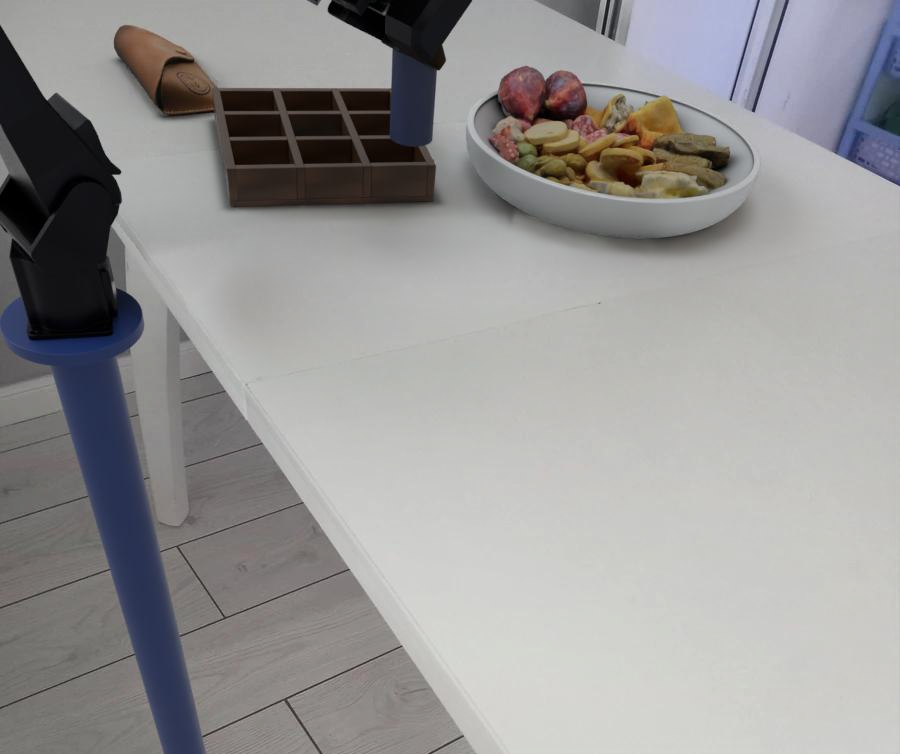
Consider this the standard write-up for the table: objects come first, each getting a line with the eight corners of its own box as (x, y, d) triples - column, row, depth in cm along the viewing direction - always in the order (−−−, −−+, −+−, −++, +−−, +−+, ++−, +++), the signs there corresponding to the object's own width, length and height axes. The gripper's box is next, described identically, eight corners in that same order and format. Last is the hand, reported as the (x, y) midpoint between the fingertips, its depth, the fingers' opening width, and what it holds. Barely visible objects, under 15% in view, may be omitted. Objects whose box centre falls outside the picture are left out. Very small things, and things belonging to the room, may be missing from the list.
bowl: (792, 192, 97) (820, 115, 91) (652, 287, 80) (676, 200, 74) (566, 106, 108) (579, 33, 102) (403, 174, 91) (407, 91, 85)
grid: (230, 206, 84) (226, 168, 81) (215, 122, 96) (211, 87, 93) (433, 201, 88) (436, 164, 85) (393, 121, 100) (395, 88, 98)
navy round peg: (414, 150, 81) (423, -18, 71) (380, 137, 83) (385, -30, 73) (440, 138, 83) (453, -26, 74) (407, 125, 85) (415, -37, 75)
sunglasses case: (234, 104, 98) (197, 48, 93) (184, 144, 99) (144, 91, 93) (184, 49, 108) (148, -4, 103) (140, 86, 109) (101, 35, 103)
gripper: (465, -166, 59) (556, 7, 73) (313, -216, 68) (418, -54, 82) (366, -16, 61) (472, 126, 75) (231, -83, 70) (347, 54, 84)
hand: (427, 57), depth 79 cm, fingers closed on navy round peg, 4 cm apart
